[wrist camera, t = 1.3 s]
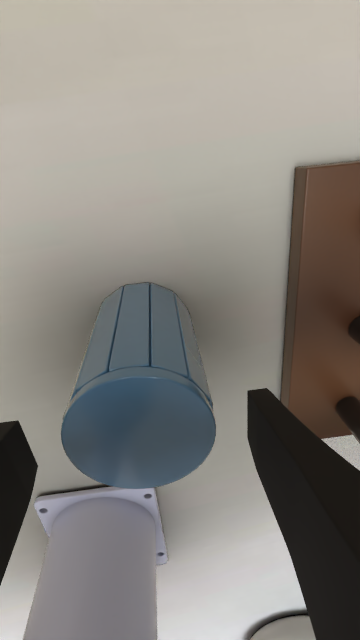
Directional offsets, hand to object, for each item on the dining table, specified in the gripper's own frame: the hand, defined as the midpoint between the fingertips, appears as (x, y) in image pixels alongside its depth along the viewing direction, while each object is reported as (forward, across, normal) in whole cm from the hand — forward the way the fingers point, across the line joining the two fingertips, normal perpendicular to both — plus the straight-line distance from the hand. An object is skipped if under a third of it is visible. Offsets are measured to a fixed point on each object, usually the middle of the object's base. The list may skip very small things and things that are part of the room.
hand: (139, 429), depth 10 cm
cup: (+7, 0, 0) cm, 7 cm away
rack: (+7, -11, +1) cm, 13 cm away
